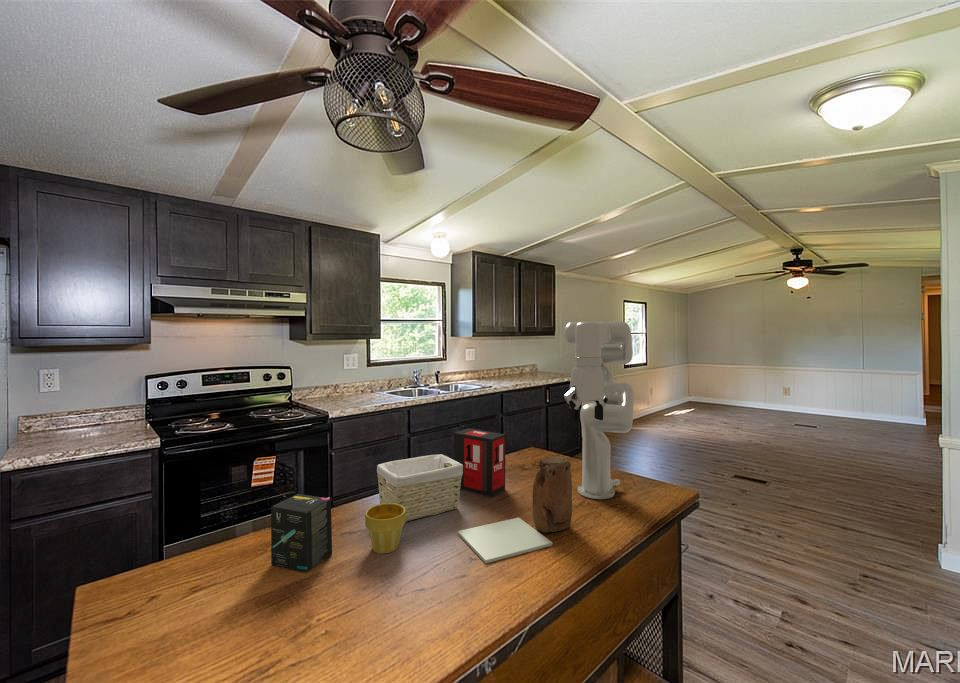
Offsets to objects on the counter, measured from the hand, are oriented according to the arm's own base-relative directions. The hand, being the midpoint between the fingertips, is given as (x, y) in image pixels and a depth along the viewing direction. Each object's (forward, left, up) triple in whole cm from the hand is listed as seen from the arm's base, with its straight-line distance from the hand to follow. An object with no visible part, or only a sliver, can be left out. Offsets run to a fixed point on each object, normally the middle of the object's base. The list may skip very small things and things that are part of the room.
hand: (587, 420), depth 129 cm
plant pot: (+59, -10, -30) cm, 67 cm away
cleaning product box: (+18, -37, -30) cm, 51 cm away
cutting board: (+29, 0, -30) cm, 42 cm away
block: (+13, 0, -30) cm, 33 cm away
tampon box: (+79, -13, -30) cm, 85 cm away
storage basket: (+43, -29, -30) cm, 60 cm away
